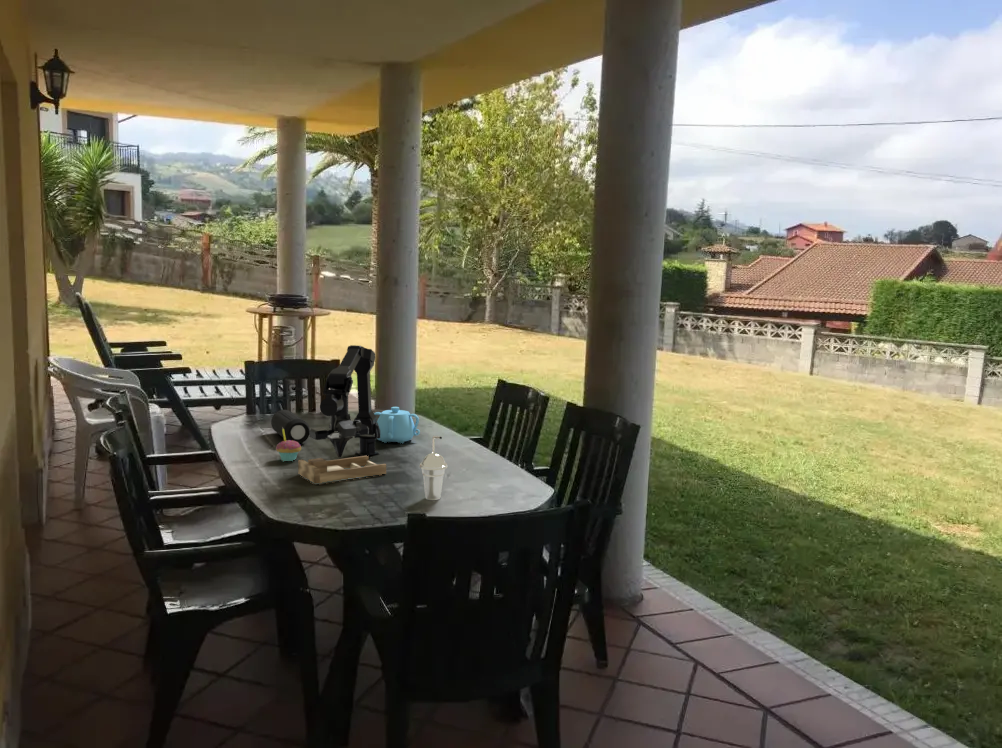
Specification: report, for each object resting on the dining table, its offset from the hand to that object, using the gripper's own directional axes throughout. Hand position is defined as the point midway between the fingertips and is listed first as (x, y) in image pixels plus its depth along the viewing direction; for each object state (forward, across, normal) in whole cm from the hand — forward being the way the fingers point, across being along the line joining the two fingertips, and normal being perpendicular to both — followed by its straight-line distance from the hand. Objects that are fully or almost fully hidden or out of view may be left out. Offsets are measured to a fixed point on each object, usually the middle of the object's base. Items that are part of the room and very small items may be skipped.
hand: (339, 457), depth 263 cm
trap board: (+6, +1, 0) cm, 6 cm away
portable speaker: (+6, +6, +59) cm, 60 cm away
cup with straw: (+6, +13, -38) cm, 41 cm away
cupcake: (+6, -7, +27) cm, 29 cm away
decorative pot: (+6, +40, +36) cm, 54 cm away
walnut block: (+4, -8, 0) cm, 9 cm away
